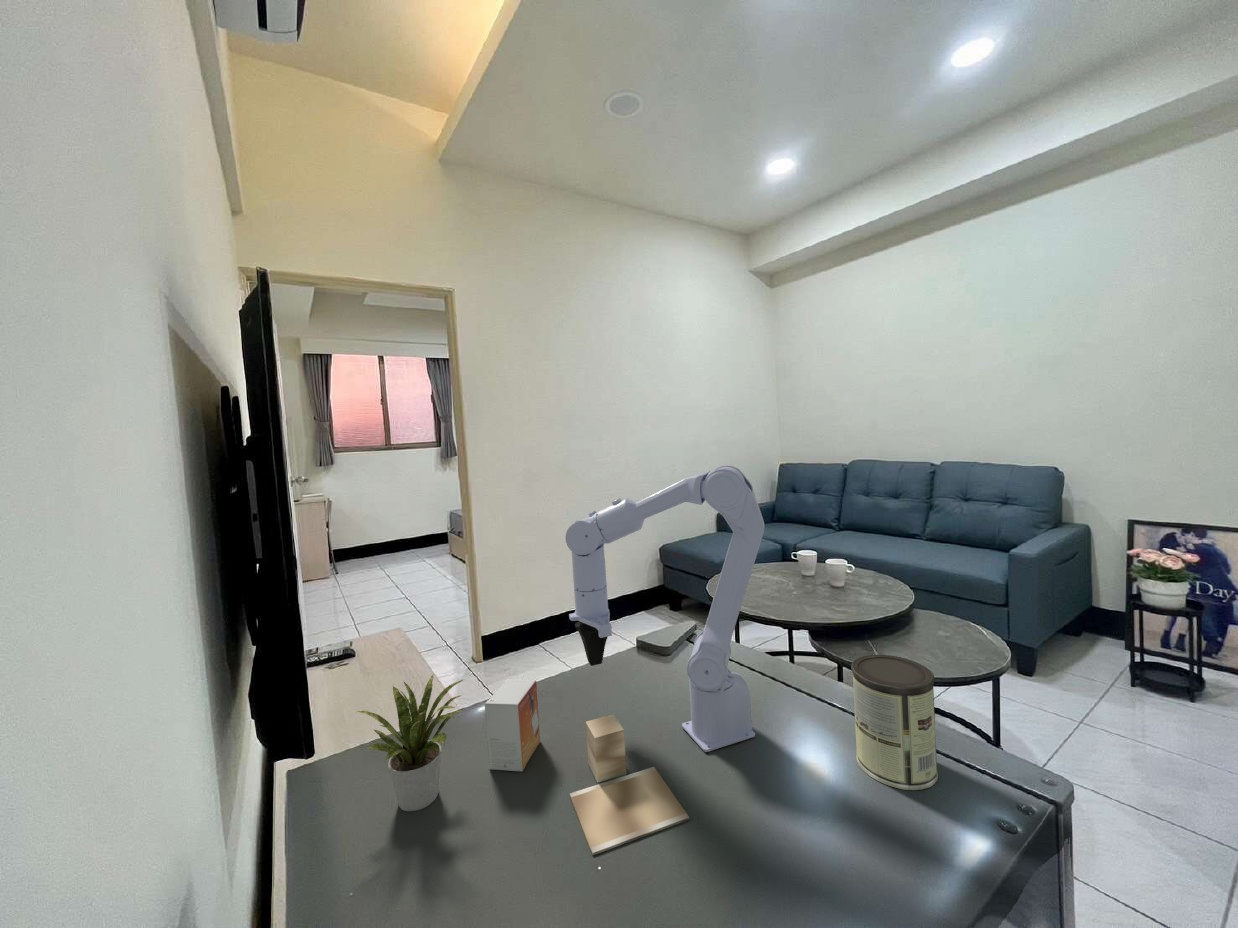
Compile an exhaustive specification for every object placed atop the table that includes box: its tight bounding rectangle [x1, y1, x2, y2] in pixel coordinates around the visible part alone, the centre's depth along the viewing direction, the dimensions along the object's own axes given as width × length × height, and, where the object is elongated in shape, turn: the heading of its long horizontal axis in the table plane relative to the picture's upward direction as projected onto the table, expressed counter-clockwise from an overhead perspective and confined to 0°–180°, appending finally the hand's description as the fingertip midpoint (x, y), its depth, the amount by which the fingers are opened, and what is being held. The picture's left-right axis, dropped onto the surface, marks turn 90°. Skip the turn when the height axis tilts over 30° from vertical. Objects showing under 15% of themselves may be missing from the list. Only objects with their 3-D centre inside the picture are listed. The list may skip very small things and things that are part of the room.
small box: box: [484, 678, 541, 772], centre depth 77 cm, size 8×6×10 cm
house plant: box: [356, 674, 466, 812], centre depth 69 cm, size 14×14×16 cm
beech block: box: [585, 714, 628, 785], centre depth 72 cm, size 4×4×7 cm
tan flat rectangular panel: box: [569, 766, 690, 856], centre depth 65 cm, size 13×11×1 cm
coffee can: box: [850, 654, 939, 791], centre depth 69 cm, size 10×10×14 cm
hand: (595, 663), depth 85 cm, fingers closed
